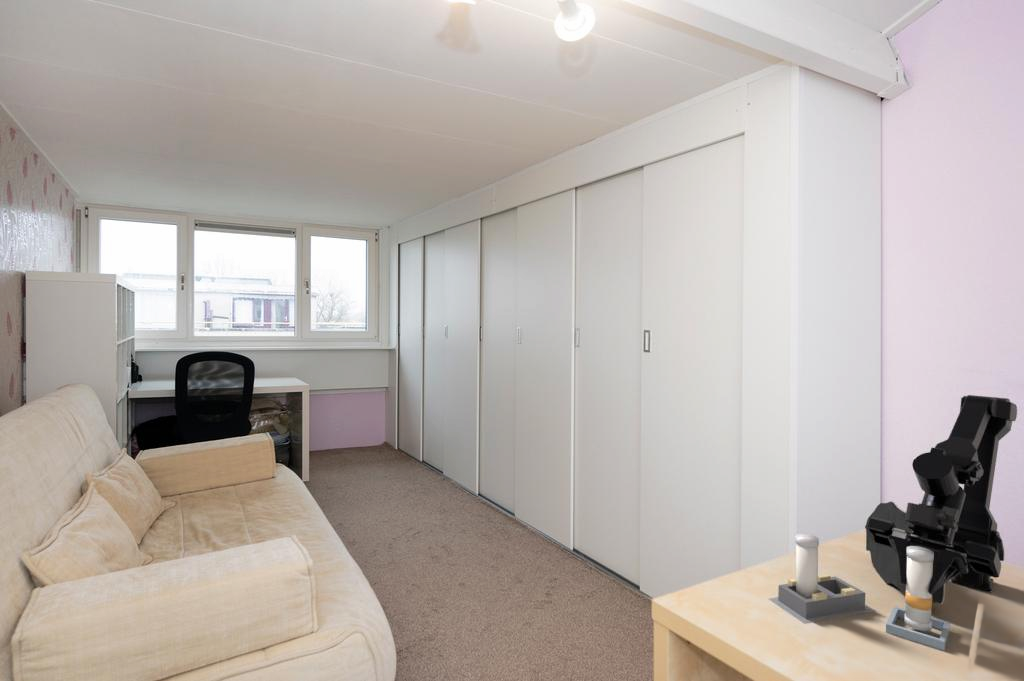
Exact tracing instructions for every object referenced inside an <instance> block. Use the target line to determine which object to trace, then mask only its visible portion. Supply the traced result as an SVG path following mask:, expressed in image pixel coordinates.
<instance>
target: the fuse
mask: <svg viewBox="0 0 1024 681" xmlns="http://www.w3.org/2000/svg"><path fill="white" fill-rule="evenodd" d="M819 540H820V539H819V537H817V536H816V535H813V534H808V533H797V534H795V567H796V568H795V578H796V593H798V594H799V595H801V596H802V597H804V598H806V599H810V598H812V594H814V593H818V575H819V544H820V543H819Z"/></svg>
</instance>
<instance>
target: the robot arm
mask: <svg viewBox="0 0 1024 681" xmlns="http://www.w3.org/2000/svg"><path fill="white" fill-rule="evenodd" d="M959 407H960V409H959V413H958V415H957V418H956V420H955V422H954V424H953V426H952V430H951V431H950V434H949V436H948V438H947V439H945V440H943V441H940V442H938V443H936V444H935V445H934V447H931V448H930V450H929V451H928V452H923V453H921V454H919V455H918V456H916V457H915V458H914V459H913V461H912V469H913V472H914V474H915V476H916V477H915V478H916V479H917V482H918V485H919V487H920V489H921V491H923V492H924V494H923V497H922V500H921V503H914V502H907V505H906V511H905V512H906V516H905V521H908V522H909V523H908V527H909V529H911V530H913V531H912V534H911V533H908V532H907V531H904V530H901V529H897V528H896V526H895V524H894V522H893V521H889V520H885V519H881V518H877V517H872V518H870V519H868V518H867V519H868V520H866V523H865V526H864V528H865V531H866V530H867V532H868V534H869V536H870V538H871V540H872V542H874V543H876V544H878V545H882V546H885V547H889V548H893V550H894V552H895V553H897V554H898V558H899V567H900V577H901V583H902V585H904V586H905V585H906V574H907V555H906V549H907V547H908V546H918V547H923V548H927V549H929V550H932V551H935V552H939V553H940V557H939V562H938V564H937V567H936V569H935V572H934V574H933V577H932V579H931V581H930V585H929V589H928V592H929V594H931V595H932V594H934V593H935V592H936V591H937V590H938V589H939V588H940V587H941V586H943V585H944V584H945V585H946V583H947V582H949V581H951V582H952V583H954V584H958V585H963V586H966V587H971V588H975V589H978V588H979V590H982V589H983V590H982V591H986V590H987V591H986V592H990V591H992V592H993V589H992V588H994V579H993V578H995V579H996V578H1000V574H1001V570H1002V562H1003V561H1005V547H1004V542H1003V539H1002V537H1001V535H1000V532H999V531H998V522H997V521H996V520H995V517H994V515H993V513H992V512H991V510H990V507H991V506H990V505H991V500H992V492H993V484H994V479H995V478H994V477H995V471H996V463H997V458H998V457H997V456H998V450H999V449H998V448H999V443H1000V440H1002V439H1003V438H1004V437H1006V435H1007V434H1009V433H1010V432H1011V431H1012V424H1013V422H1016V419H1017V416H1018V407H1017V404H1016V403H1014V402H1012V401H1010V398H1006V397H997V396H995V397H994V396H983V395H975V394H974V395H973V394H972V395H971V394H968V395H963V396H962V397H961V398H960V406H959ZM960 485H963V487H962V486H960Z"/></svg>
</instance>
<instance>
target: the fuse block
mask: <svg viewBox="0 0 1024 681" xmlns="http://www.w3.org/2000/svg"><path fill="white" fill-rule="evenodd" d="M777 595H778V597H777V596H776V597H772V598H771V597H770V598H768V600H769V601H771V602H772V603H773V604H775V605H776V606H778V607H779V608H781V609H782V610H783V611H785V612H786V613H788V614H789V615H791V616H792V617H794V618H796V619H797V620H799V621H800V622H801V623H803V624H810V623H814V622H815V623H816V622H819V621H820V622H821V621H826V620H831V619H838V618H843V617H849V616H854V615H860V614H865V613H871V612H876V611H877V610H876V609H874V608H872V607H871V606H869V605H867V604H866V592H865V591H863V590H861V589H860V588H858V587H855V586H854V585H852V584H850V583H848V582H846V581H845V580H842V579H841V578H839V577H837V576H831V575H830V574H827V573H822V574H818V593H814V594H812V598H810V599H806V598H804V597H802V596H801V595H799V594H798V593H796V577H795V578H790V579H788V583H784V584H778V594H777Z"/></svg>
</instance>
